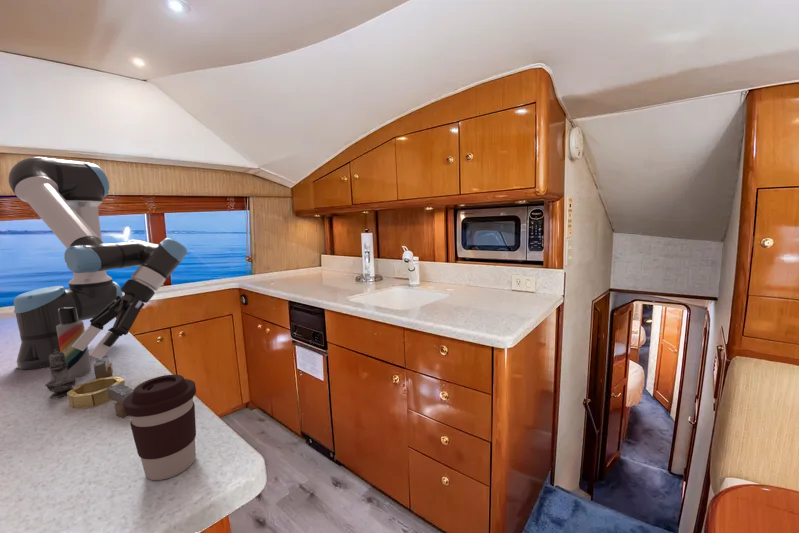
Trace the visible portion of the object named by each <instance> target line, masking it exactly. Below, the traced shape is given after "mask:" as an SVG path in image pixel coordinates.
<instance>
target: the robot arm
mask: <svg viewBox="0 0 799 533" xmlns="http://www.w3.org/2000/svg"><path fill="white" fill-rule="evenodd" d="M8 185H9V187H10V189H11V191H12V193H13V194H14V195H15V196H16V197H17V198H18V199H19V200H20V201H22V202H24V203H28V204H29V206H30V207H31V209H32V210H34V212H35V213H36V214H37V215H38V216H39V217H40V219H41V220H42V221H43V223H45V225H46V227H48V228H49V229H50V230H51V231H52V233H53V234H54V235H55V237H56V238H58V240H59V241H60V242H61V244H63V246H64V247H65V248H66V249H65V252H64V262H65V263H66V267H67V269H68V270H70V271H71V272H72V273H73V277H72V278H71V279H70V280H69V281H68V288H65V287H64V286H62V285H54V286H48V287H42V288H41V287H40V288H37V289H33V290H29V291H26V292H24V293H20V294H18V295H17V296H16V297H15V298H14V299H13V305H14V310H13V311H14V313H15V316H16V322H17V328H18V331H19V337H20V347H19V351H18V354H17V358H16V365H17V366H16V367H17V369H19V370H35V369H41V368H46V367H50V362H49V356H50V355H51V354H52V353H53V352H55V351H54V350H55V349H57V351H58V352H61V351H60V346H59V341H58V335H57V329H56V326H57V325H59V324H60V319H59V314H58V310H59V308H64V307H75V308H76V309H77V315H78V321H87V320H89V322H90V323H89V326H88V327H87V328H86V329H85V332H84V333H83V334H82V335H81V336H80V337H79V338H78V340H77V341H76V342H75V343H74V344H73V345H72V347H74V348H76V349H79V350H81V351H84V349H85V348H86V347H87V346H88V347H89V345H90V344H91V342H92V341H93V340H94V339H95V338H96V336H98V334H99V333H100V332H101V331H103V330H104V327H105V326H106V325H107V324H108V323H109V322H111V321H112V320H114V319H115V318H116V319H115V320H114V323H113V326H112V327H110V328H108V329H107V332H106V333H105V335H104V336H103V337H102V338H101V339H100V340H99V342H98V343H97V344H96V346H94V348H93V349H92V350H91V351H90V352H89V357H93V358H95V359H97V358H98V359H100V360H101V359H102V358H103V357H104V356H106V355H107V353H108V352H109V350H110V349H111V348H113V346H114V345H115V343H116V342H117V341H118V340H119V338H120V337H122V336H126V335H128V334H129V332H130V330H131V328H132V326H133V324H134V323H135V321H136V319H137V317H138V315H139V313H140V311H141V310H142V309H143V308H144V307H145V304H147V303H149V301H150V300H151V299H152V298H153V296H154V295H155V294H156V293H155V291H158V290H159V289H160V287H163V286H164V285H165V284H164V283H165V282H166V280H167V279H168V278H169V277H170V276H171V275H172V274H173V272H174V271H175V270H176V268H177V267H178V266H179V265H180V264H181V263H182V261H183V260H184V258H185V257H186V255H187V254H188V251H187V248H186V247H185V246H184V245H183V244H182V243H180V242H179V241H177V240H175V239H172V238H170V237H166V238H164V239H163V240H161V241H160V242H159V243H153V242H150V241H147V240H143V239H130V240H129V239H128V240H127V241H125V242H115V243H114V242H113V243H111V242H109V243H104V241H103V237H102V230H101V223H100V215H99V214H100V213H99V206H100V205H102V203H103V202H104V201H103V198H105V197H107V196H108V195H109V191H110V182H109V179H108V176H107V175H106V173H105V171H104V170H103V169H102V168H101V167H100V166H98V165H97V164H95V163H91V162H85V161H80V160H70V159H61V158H59V159H58V158H51V157H43V156H32V157H31V156H30V157H27V158H24V159H22V160H20V161H18V162H17V163H15V164H14V165H13V166H12V168H11V169H10V172H9V173H8ZM133 267H137V269H136V270H135V271H134V272H133V273H132V274H131V275H130V278H131V279H128V280H126V282H125V283H124V284H123V285H122V286H120V284H119V283H118V282H115V281H113V277H112V276H109V275H108V274H107V271H109V270H116V269H117V270H118V269H125V268H126V269H127V268H133ZM123 293H124V294H123Z"/></svg>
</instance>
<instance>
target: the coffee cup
mask: <svg viewBox="0 0 799 533" xmlns="http://www.w3.org/2000/svg"><path fill="white" fill-rule="evenodd" d="M133 389H134V391H133V393H132V394H130V395H129V396H128V397H126V398H125V400H124V401H123V409H124V413H125V414H126V415H128V416H127V417H129V418H130V422H129V426H130V428H131V433H132V437H133V440H134V444H135V447H136V452H137V456H139V458H140V461H141V465H142V469H143V472H144V475H145V477H146V478H147V479H149V480H152V481H162V480H163V481H164V480H166V479H171V478H174V477H176V476H178V475H180V474H181V473H183V472H185V471H186V470H187V469H188V468H190V466H191V465H193V463H194V461H195V460H196V455H197V454H196V451H197V450H196V436H197V429H196V428H197V427H196V425H197V424H196V407H195V406H196V405H195V402H194V397H195V395H196V393H197V387H196V383H195V381H193V380H192V379H188V378H184V376H183V375H182V374H164V375H159V376H156V377H153V378H149V379H148V380H145V381H143V382H141V383H139V384H138V385H136V386H135V387H134V388H133Z"/></svg>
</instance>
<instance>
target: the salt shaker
mask: <svg viewBox="0 0 799 533" xmlns="http://www.w3.org/2000/svg"><path fill="white" fill-rule="evenodd" d="M54 351H55V352H53V353H52V354H51V355H50V356H49V362H50V366H49V367H48V370H49V371H50V374H51V377H50V380H49V381H48V382H46V383H45V384H44V386H45V387H46V388H47V389H48V391H49V392H51V393H52V394H51V395H49V397H48V399H49V400H58V399H63V398H66V397H67V392H69V391H70V390H72V389H73V388H74V386H75V385H76V381H77V378H78V377H77V376H71V375H70V374H69V373H68V369H67V366H68V364H67V363H66V360H65V355H64V353H63V352H58V351H57V349H55V350H54ZM67 398H68V397H67Z"/></svg>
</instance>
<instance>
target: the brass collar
mask: <svg viewBox="0 0 799 533" xmlns="http://www.w3.org/2000/svg"><path fill="white" fill-rule="evenodd" d="M119 383H120V384H123V385H125V386H126V384H125V379H124V378H123V377H121V376H119V375H117V376H116V375H115V376H109V377H105V378H100V379H96V378H95V379H93V380H90V381H88V382H87V381H86V382H84V383H81V384H78V385H76V386H75V387H72V388H73V389H72V390H70V391H69V392H67V402H68V406H69V407H70V408H72V409H73V410H78V409H79V410H80V409H87V408H94V407H98V406H100V405H102V404H106V403H108V402H111V401H113V400H112V399H110V398H109V397H108V391H107V388H108V387H111V386H113V385H116V384H119Z"/></svg>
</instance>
